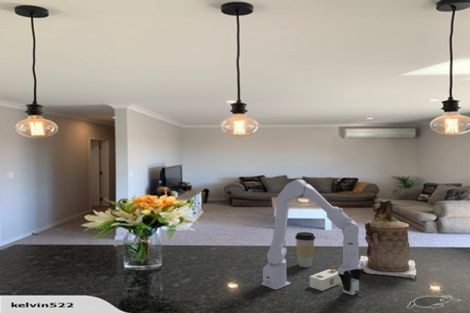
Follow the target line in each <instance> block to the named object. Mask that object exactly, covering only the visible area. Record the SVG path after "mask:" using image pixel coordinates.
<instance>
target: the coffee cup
mask: <svg viewBox="0 0 470 313" xmlns="http://www.w3.org/2000/svg"><path fill="white" fill-rule="evenodd" d="M294 238H295V241H296V244H295V245H296V254H297V259H298V265H299V267H302V268H310V267H313V266H312V265H313V264H312V263H313V257H314V248H315V244H314V243H315V240H316V236H315V235H314V233H313V232H306V231H304V232H303V231H301V232H297V233H296V235H295V237H294Z"/></svg>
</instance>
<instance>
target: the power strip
mask: <svg viewBox="0 0 470 313" xmlns="http://www.w3.org/2000/svg"><path fill="white" fill-rule="evenodd" d="M339 284H342V281H341V279H340V277H339V275H338V269H334V268H333V269H325V270H323V271H320V272H316V273H314V274H313V275H309V288H312V289H316V290H318V291H322V292H323V291H325V290H328V289H330V288H333V287H335V286H337V285H338V286H339Z"/></svg>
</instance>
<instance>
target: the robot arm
mask: <svg viewBox="0 0 470 313" xmlns="http://www.w3.org/2000/svg"><path fill="white" fill-rule="evenodd" d="M300 197H302V198H304V199H310V200H312V201H313V202H314V203H315V204H316V205H317V206H318V207H320V208H321V209H322V210H323V211H324V212H325V213H326V218H327V219H328V220H329V221H330V222H331V223H333V224H334V225H335V226H336V227H337V228H338V229H339V230H341V233H342V235H343V240H342V264H341V265H340V266H339V267H337V272H338V275H339V277H340V279H341V284H343V286H342V289H343V288H344V290H345V291H348V292H349V291H350V286H351V279H352V278H353V279H357V280H359V283H360V282H361V277H362V276H363V273H365V272H364V269H363V268H361V267H363V261H359V260H360V251H359V250H360V249H359V248H360V247H359V245H360V244H359V235H360V234H359V233H360V231H359V230H360V229H359V224H358V223H357V221H356V220H353V218H352V217H349V216H348V215H347V214H346V213H345V212H344V209H343V208H342V207H339V206H332V205H331V204H330V203H329V202H328V201H327V199H325V198H324V196H322V195H321V194H320V193H319V191H317V190H316V188H314V187H313V186H312V185H311V184H310V183H307V181H305V180H304V179H302V178H297V179H296V180H292V181H291V182H289V183H287V184H286V185H285V186H284V188H283V189H282V190H281V191H280V193H279V194H278V195H277V200H276V209H275V218H274V228H273V235H272V236H273V237H272V241H271V243H270V247H269V250H268V251H267V255H266V258H267V260H268V263H267V264H266V265H265V266H263V268H262V283H261V285H262V286H264V287H267V288H270V289H272V290H278V289H279V290H280V289H282V288H284V287H287V286H290V285H291V284H292V282H289V281H287V260H286V258H285V257H286V256H287V254H288V248H287V246H286V244H287V242H286V241H287V240H286V236H287V234H286V233H287V227H288V226H287V225H288V216H289V208H290V202H291V201H292V200H294V199H296V198H300Z"/></svg>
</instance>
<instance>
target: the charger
mask: <svg viewBox="0 0 470 313" xmlns="http://www.w3.org/2000/svg"><path fill="white" fill-rule="evenodd" d="M338 286H341V287H342V293H345V294H348V295H351V296H354V295H356V294H361V295H364V291H363V292H362V291H360V282H359V280H357V279H353V278H352V279H351V286H350V291H349V292H348V291H345V290H344V288H343V284H342V283H340V284H338Z"/></svg>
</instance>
